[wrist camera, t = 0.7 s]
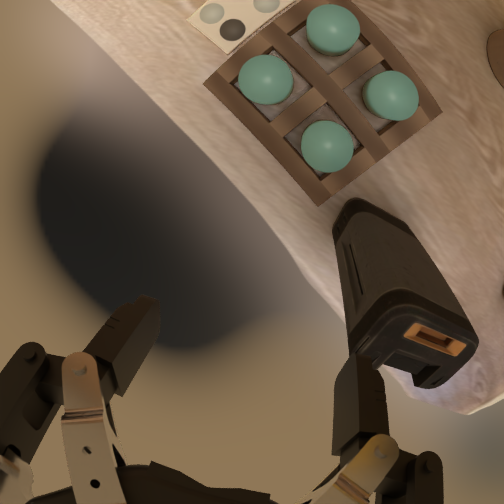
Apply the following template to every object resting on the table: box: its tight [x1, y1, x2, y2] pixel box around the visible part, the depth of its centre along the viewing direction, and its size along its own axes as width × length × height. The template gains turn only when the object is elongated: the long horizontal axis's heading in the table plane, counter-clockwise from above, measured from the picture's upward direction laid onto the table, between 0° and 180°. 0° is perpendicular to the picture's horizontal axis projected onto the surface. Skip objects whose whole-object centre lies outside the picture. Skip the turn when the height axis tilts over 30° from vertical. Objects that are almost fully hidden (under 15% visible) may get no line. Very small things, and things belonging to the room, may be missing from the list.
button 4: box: [301, 120, 354, 173], centre depth 25 cm, size 5×5×4 cm
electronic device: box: [332, 198, 479, 389], centre depth 24 cm, size 9×6×20 cm, turn 69°
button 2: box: [363, 71, 419, 121], centre depth 22 cm, size 5×5×4 cm
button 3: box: [238, 55, 294, 105], centre depth 23 cm, size 5×5×4 cm
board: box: [203, 0, 442, 207], centre depth 25 cm, size 18×18×2 cm
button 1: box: [306, 4, 360, 56], centre depth 20 cm, size 5×5×4 cm
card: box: [186, 0, 295, 55], centre depth 23 cm, size 10×7×1 cm
